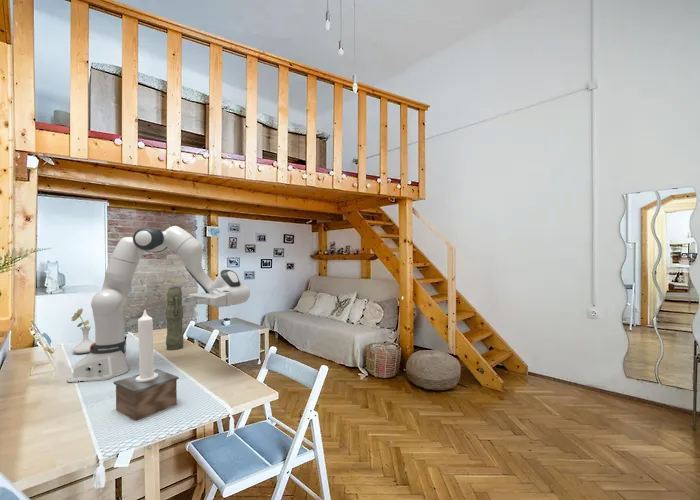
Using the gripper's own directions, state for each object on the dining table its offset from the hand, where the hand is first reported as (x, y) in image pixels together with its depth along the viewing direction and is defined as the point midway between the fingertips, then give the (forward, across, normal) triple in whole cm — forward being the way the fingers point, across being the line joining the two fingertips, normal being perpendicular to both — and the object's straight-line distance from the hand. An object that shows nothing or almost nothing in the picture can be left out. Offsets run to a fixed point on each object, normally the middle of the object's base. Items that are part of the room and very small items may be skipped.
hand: (190, 301), depth 144 cm
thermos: (-24, -56, +35) cm, 71 cm away
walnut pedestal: (+21, +8, +35) cm, 42 cm away
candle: (+21, +8, +25) cm, 34 cm away
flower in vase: (+8, -90, +35) cm, 97 cm away
